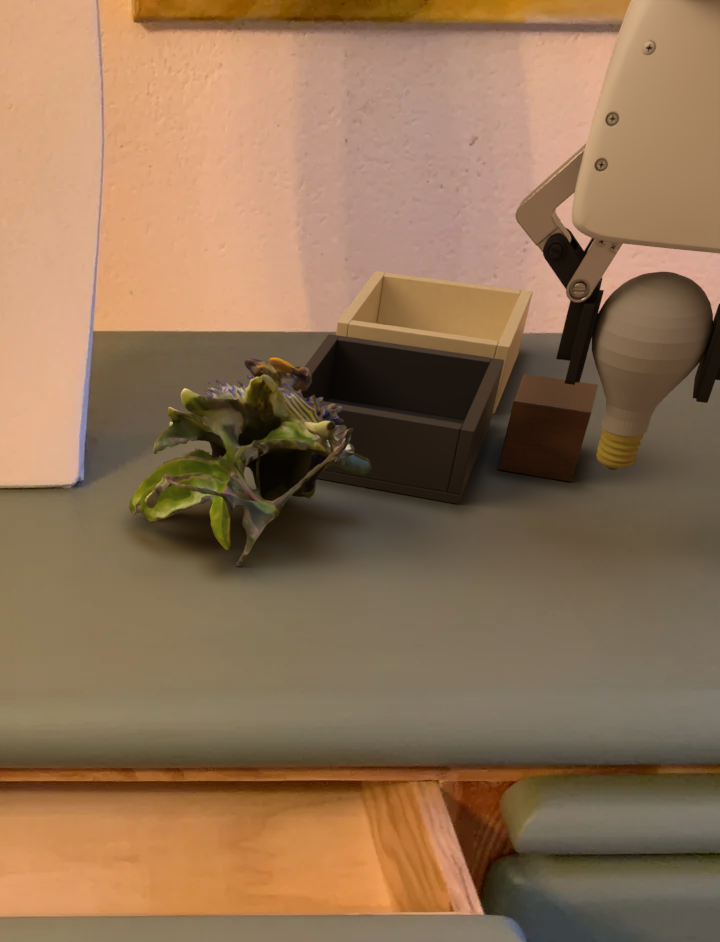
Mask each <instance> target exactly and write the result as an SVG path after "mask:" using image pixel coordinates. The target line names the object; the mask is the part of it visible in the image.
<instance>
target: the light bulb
mask: <svg viewBox="0 0 720 942" xmlns="http://www.w3.org/2000/svg"><path fill="white" fill-rule="evenodd" d="M713 320H714V313H713V308H712V304H711V301H710V300H709V297H708V296H707V293H706V292H705V290H704V289H703V288H702V287H701V285H699V284H698V283H697V282H695V281H694V280H693V279H691V278H690V277H688V276H684V275H682V274H679V273H677V272H672V271H655V272H653V271H652V272H647V273H641V274H639V275H637V276H635V277H633V278H630V279H629V280H626V281H625V282H624V283H622V284H621V285H620V286H619V287H617V288H616V289H615V290H614V291H612V292H611V294H610V295H609V296H608V297H607V299H606V300H605V301H604V302H603V304H602V306H601V307H600V308H599V311H598V314H597V318H596V322H595V326H594V329H593V333H592V338H591V353H592V357H593V361H594V365H595V368H596V371H597V374H598V377H599V380H600V383H601V386H602V389H603V394H604V397H605V411H604V414H603V417H602V421H601V427H602V429H601V433H600V439H599V441H598V445H597V448H596V460H597V461H598V462H599V463H600V464H602V465H603V466H604V467H606V468H607V469H608V470H609V471H616V470H619V469H625V468H627V467H630V466H632V465H633V464H634V463H635V462H636V461H637V457H638V452H639V450H640V449H639V448H640V446H641V443H642V442H641V441H642V440H643V438H644V436H645V434H646V433H647V432H648V429H649V426H650V422H651V419H652V416H653V414H654V412H655V410H656V408H657V407H658V405H660V404H661V403H662V401H664V400H665V398H667V396H668V395H670V394H671V392H672V391H673V390H675V388H677V387H678V386H679V385H680V384H681V383H682V382H683V381H684V380H685V379H686V378H687V377H688V376H689V375H690V374H691V373H692V372H693V371H694V369H695V368H697V367H698V366H699V363H700V360H701V359H702V357H703V355H704V353H705V352H706V350H707V348H708V344H709V341H710V338H711V335H712V331H713Z"/></svg>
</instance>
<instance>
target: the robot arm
mask: <svg viewBox="0 0 720 942" xmlns="http://www.w3.org/2000/svg"><path fill="white" fill-rule="evenodd" d="M572 195H573V201H572V208H571V222H572V225H573V226H574V228H575V229H576V230H577V231H578V232H579V233H581V234H582V235H584V236H587V237H589V238H590V240H589V241H588V243H587V245H586V246H585V248H583V247H582V246H581V244H580V243H579V241H578V240H577V238H576V237H575V235H574V234H573V232H572V231H571V230H570V229H569V228H567V227H566V226H565V224H563V223H562V221H561V218H559V216H558V214H557V212H556V211H557V208H558V207H559V206H560V205H562V204H563V203H564V202H565V201H567V199H568V198H570V197H571V196H572ZM515 220H516V222H517V224H518V225H519V226H520V227H521V228H522V230H523V231H524V232H525V234H526V235H527V237H528V238H529V239H530V240H531V241H532V243H534V245H535V246H537V248H538V249H539V250H540V251H541V253H542V256H543V258H544V260H545V261H546V263H547V264H548V266H549V267H550V268H551V270H552V271H553V273H554V274H555V276H556V277H557V279H558V280H559V282H560V283H561V285H562V286H563V288H564V289H565V294H566V297H567V299H568V300H569V305H568V308H567V313H566V315H565V320H564V325H563V329H562V333H561V336H560V342H559V345H558V350H557V354H556V360H561V361H569V364H568V367H567V372H566V375H565V379H564V380H565V383H564V384H572V385H575V382H578V383H580V382H581V379H582V375H583V371H584V368H585V364H586V361H587V357H588V353H589V349H590V345H591V343H592V333H593V329H594V326H595V322H596V318H597V314H598V313H599V311H600V308H601V303H602V299H603V296H604V292H605V290H604V289H601V287H602V282H603V276H604V274H605V273H606V271H607V270H608V268H609V266H610V265H611V264H612V261H613V260H614V259H615V257H616V255H617V254H618V252H619V251H620V249H621V247H622V246H623V244H624V245H634V246H642V247H651V248H661V249H670V250H680V251H689V252H690V251H691V252H701V253H711V254H720V0H630V2H629V4H628V6H627V9H626V12H625V15H624V17H623V20H622V23H621V25H620V29H619V31H618V33H617V37H616V40H615V42H614V45H613V49H612V51H611V54H610V58H609V61H608V64H607V68H606V72H605V75H604V79H603V81H602V85H601V89H600V92H599V96H598V98H597V102H596V106H595V109H594V112H593V117H592V120H591V124H590V127H589V132H588V136H587V139H586V143H585V144H584V145H582V146H581V148H579V149H578V150H577V151H576V152H575V153H574V154H572V155H571V156H570V157H569V158H568V159H567V160H566V161H564V162H563V163H562V164H561V165H560V166H559V167H558V168H557V169H555V170H554V171H553V172H552V173H551V174H550V175H548V176H547V177H546V179H544V180H543V181H542V182H541V183H540V184H539V185H538V186H536V187H535V188H534V189H533V190H532V191H531V192H530V193H528V195H526V196H525V197H524V198H523V199H522V200H521V202H520V203H519V205H518V207H517V208H516V212H515ZM693 381H694V382H693V390H692V399H695V402H696V403H697V402H698V403H705V404H708V402H709V400H710V397H711V394H712V391H713V388H714V386H715V383H716V381H720V302H719V303H718V305H717V308H716V311H715V314H714V316H713V331H712V335H711V338H710V341H709V344H708V348H707V350H706V352H705V353H704V355H703V357H702V359H701V360H700V362H699V364H698V365H697V369H696V372H695V375H694V379H693Z"/></svg>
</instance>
